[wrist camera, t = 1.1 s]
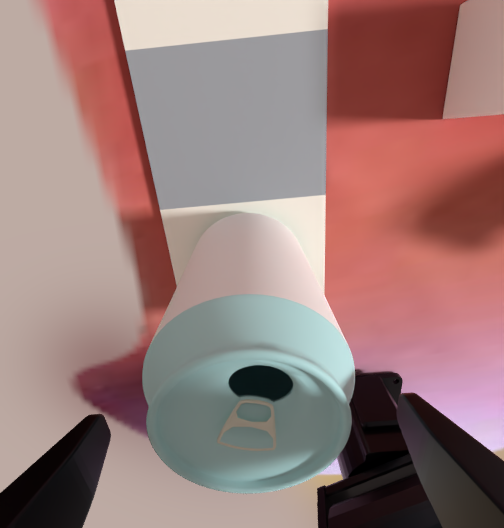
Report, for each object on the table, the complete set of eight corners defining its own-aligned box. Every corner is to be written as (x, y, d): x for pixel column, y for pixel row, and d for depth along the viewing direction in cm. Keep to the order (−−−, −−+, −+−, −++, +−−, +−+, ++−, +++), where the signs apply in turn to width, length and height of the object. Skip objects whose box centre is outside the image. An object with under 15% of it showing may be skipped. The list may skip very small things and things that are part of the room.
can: (173, 239, 18) (64, 394, 7) (276, 190, 17) (326, 287, 6) (225, 323, 21) (201, 529, 10) (317, 285, 20) (403, 470, 9)
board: (322, 305, 21) (324, 308, 21) (185, 316, 21) (184, 319, 21) (333, -680, 8) (337, -718, 8) (-17, -619, 8) (-29, -653, 8)
